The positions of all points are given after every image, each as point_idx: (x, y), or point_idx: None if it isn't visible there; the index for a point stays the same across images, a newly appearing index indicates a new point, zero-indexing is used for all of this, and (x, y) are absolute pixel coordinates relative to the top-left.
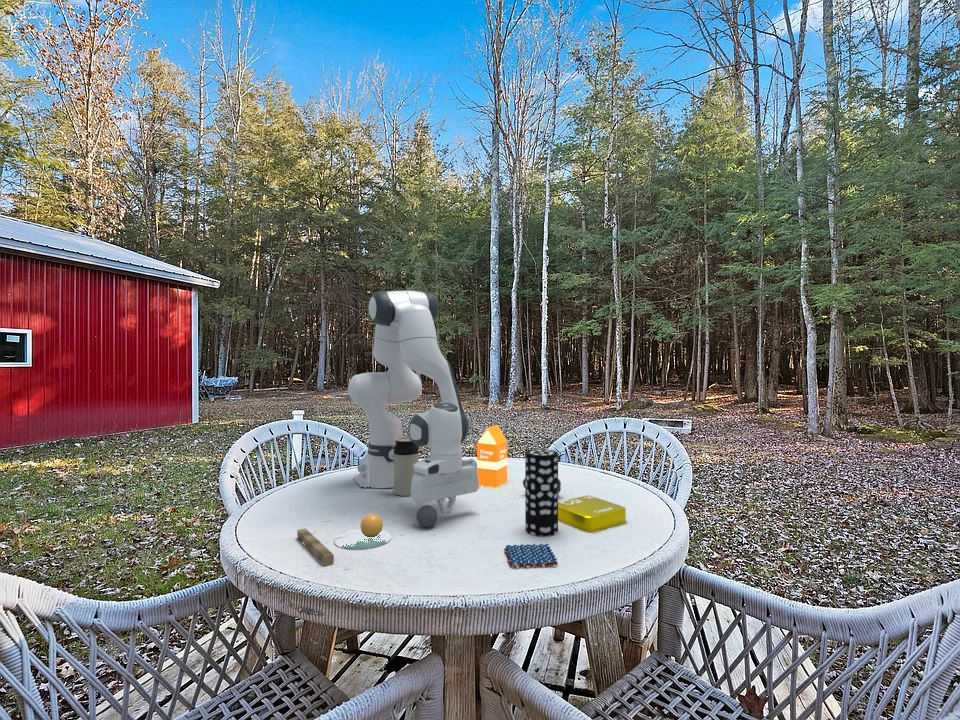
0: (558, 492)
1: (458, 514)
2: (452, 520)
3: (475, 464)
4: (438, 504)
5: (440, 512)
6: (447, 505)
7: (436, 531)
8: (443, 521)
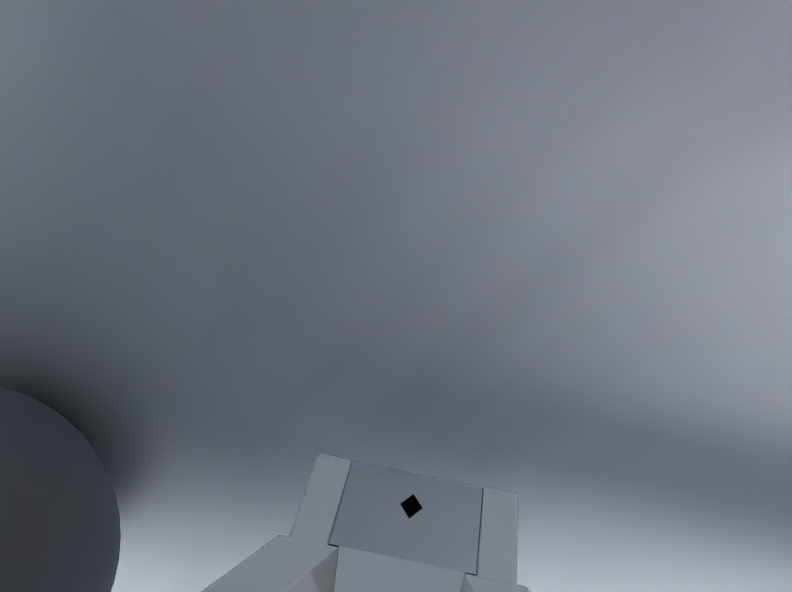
0: None
1: (743, 427)
2: None
3: None
4: (228, 578)
5: (316, 463)
6: (463, 584)
7: None
8: None
